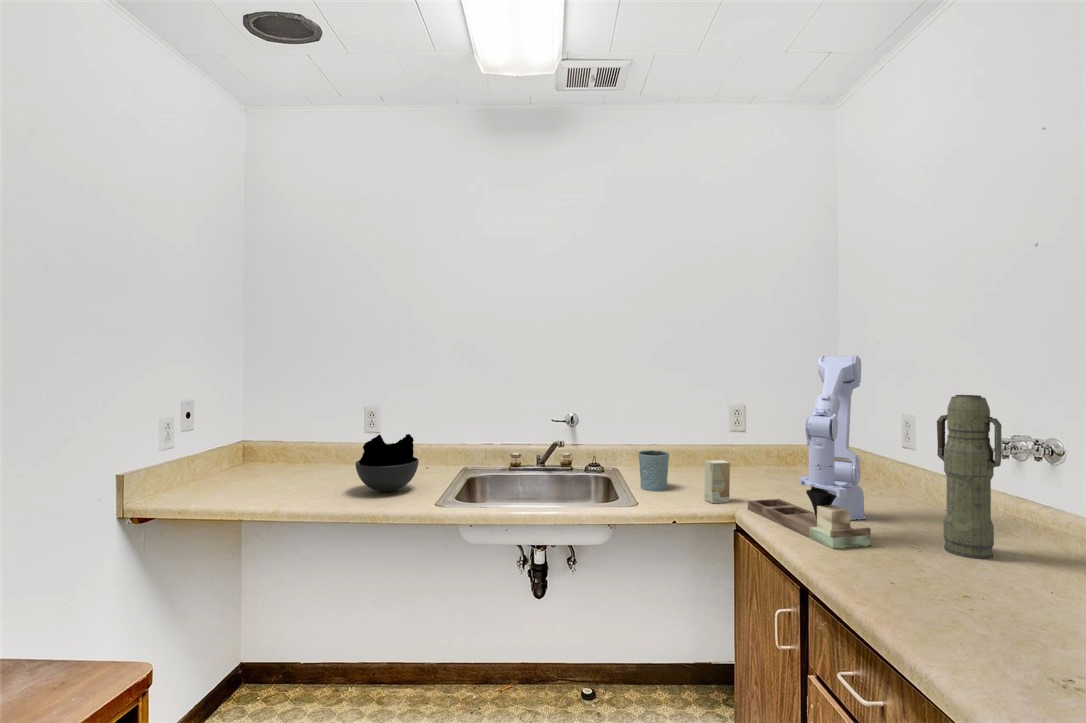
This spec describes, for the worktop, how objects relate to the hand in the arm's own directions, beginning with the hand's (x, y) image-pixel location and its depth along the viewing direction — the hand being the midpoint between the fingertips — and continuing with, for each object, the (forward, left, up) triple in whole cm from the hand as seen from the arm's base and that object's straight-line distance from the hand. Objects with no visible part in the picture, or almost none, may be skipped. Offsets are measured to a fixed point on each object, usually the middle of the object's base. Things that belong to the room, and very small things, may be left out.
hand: (821, 519), depth 136 cm
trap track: (0, -7, -3) cm, 8 cm away
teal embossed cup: (+21, -54, -4) cm, 58 cm away
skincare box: (+9, -34, -4) cm, 35 cm away
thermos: (-23, +18, -4) cm, 29 cm away
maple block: (0, +4, -1) cm, 4 cm away
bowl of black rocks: (+108, -69, -4) cm, 128 cm away
